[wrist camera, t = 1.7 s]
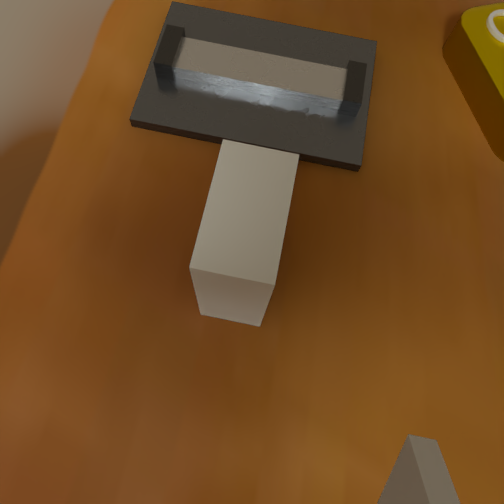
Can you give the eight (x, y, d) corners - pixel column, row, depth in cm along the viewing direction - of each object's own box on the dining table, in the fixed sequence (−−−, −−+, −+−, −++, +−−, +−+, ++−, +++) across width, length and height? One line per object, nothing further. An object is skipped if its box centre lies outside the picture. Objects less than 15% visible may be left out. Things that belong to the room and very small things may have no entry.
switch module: (226, 208, 36) (226, 125, 26) (280, 219, 36) (301, 140, 26) (200, 314, 33) (189, 267, 23) (259, 326, 33) (274, 285, 23)
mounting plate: (373, 49, 43) (383, 25, 40) (357, 171, 38) (367, 153, 35) (173, 10, 43) (170, -16, 41) (131, 126, 38) (124, 104, 36)
